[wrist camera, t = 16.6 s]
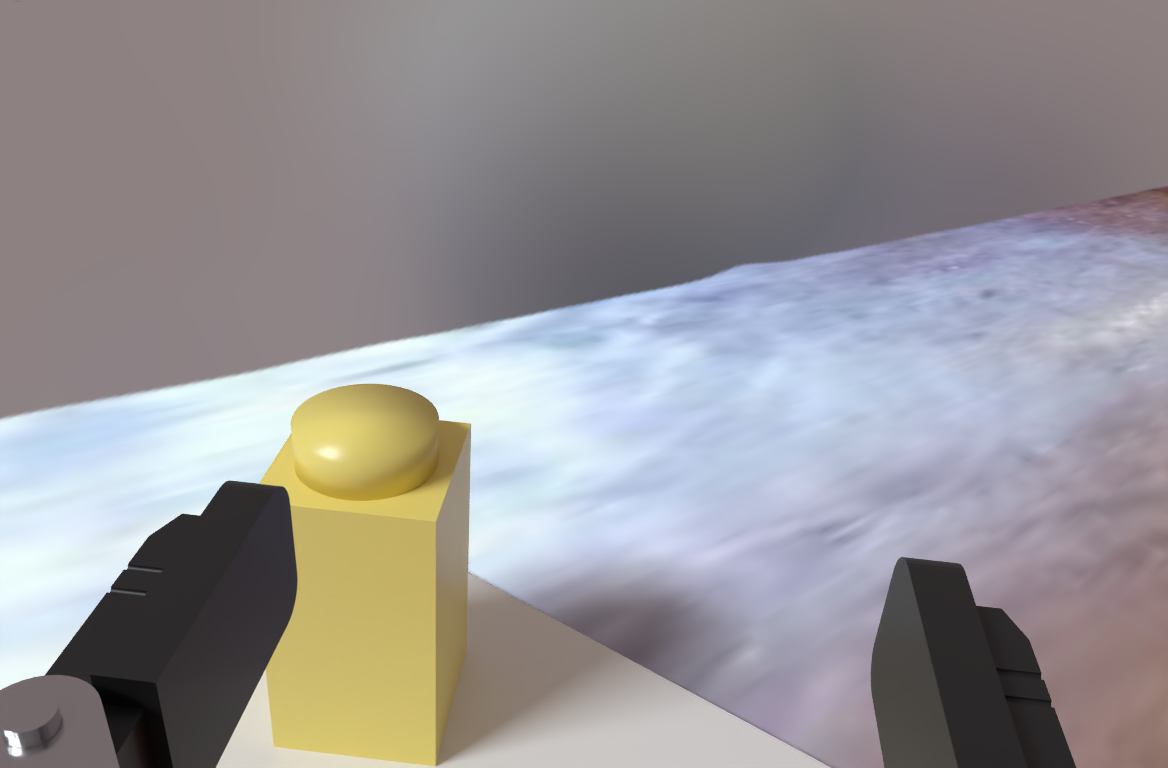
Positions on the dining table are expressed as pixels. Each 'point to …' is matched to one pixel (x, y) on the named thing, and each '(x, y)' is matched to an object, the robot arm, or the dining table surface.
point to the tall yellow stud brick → (372, 575)
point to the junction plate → (548, 708)
